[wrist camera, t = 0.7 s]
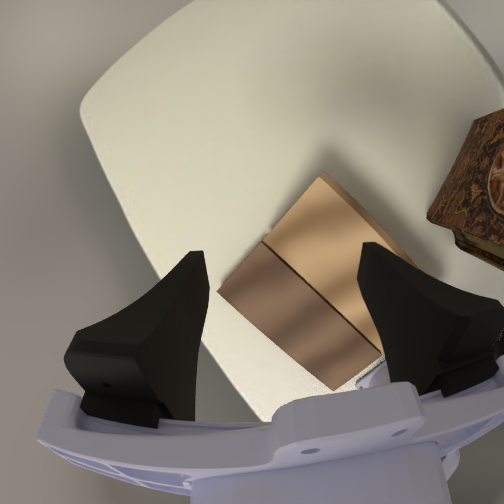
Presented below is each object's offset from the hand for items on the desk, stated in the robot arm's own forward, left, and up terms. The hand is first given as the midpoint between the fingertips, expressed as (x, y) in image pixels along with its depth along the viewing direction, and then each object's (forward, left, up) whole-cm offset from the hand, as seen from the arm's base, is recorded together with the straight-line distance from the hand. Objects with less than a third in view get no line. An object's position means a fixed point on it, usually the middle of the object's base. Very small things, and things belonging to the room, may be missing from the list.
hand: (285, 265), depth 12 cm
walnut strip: (-8, +9, -19) cm, 22 cm away
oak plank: (-8, -1, -16) cm, 18 cm away
